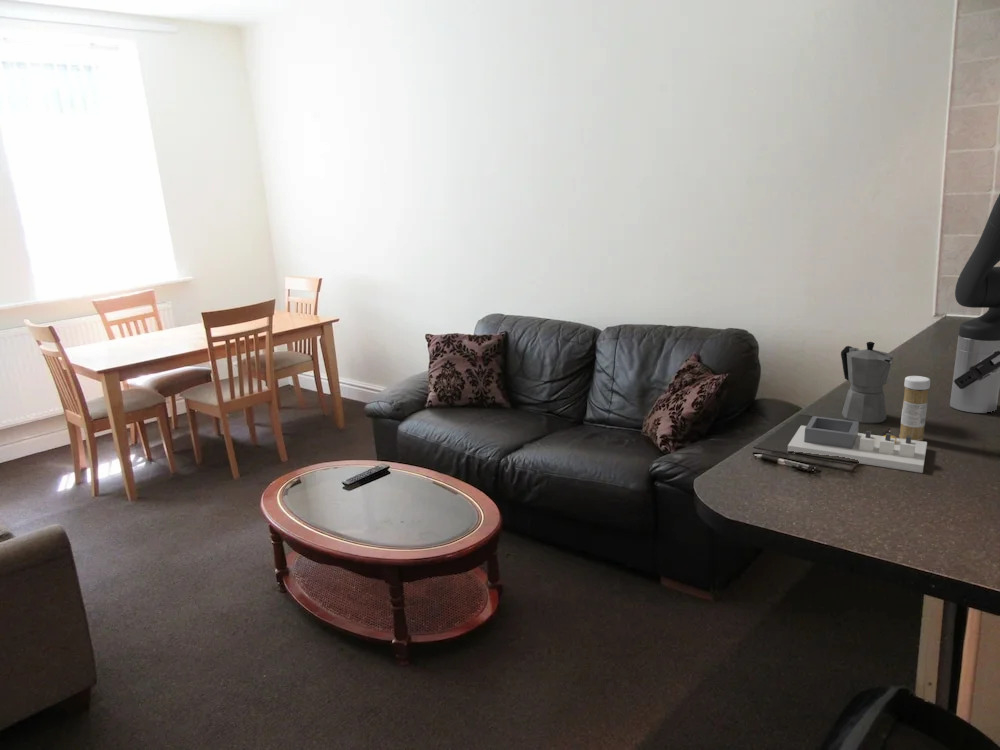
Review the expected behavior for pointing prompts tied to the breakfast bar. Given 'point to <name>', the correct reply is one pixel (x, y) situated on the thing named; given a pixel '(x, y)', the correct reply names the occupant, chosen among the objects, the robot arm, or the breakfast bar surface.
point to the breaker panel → (858, 444)
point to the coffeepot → (865, 383)
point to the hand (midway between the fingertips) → (966, 380)
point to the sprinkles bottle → (914, 407)
